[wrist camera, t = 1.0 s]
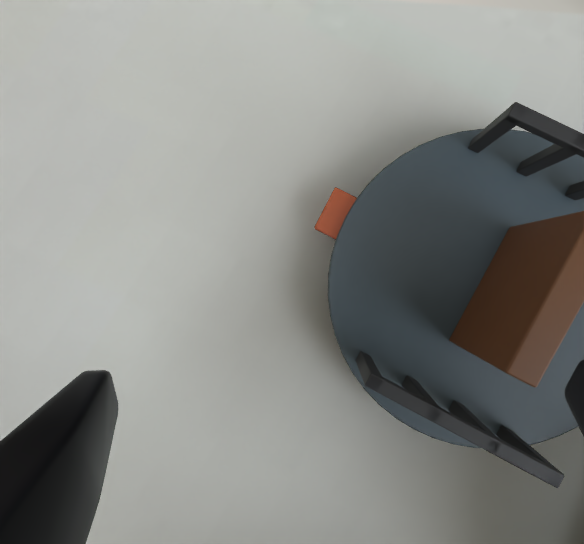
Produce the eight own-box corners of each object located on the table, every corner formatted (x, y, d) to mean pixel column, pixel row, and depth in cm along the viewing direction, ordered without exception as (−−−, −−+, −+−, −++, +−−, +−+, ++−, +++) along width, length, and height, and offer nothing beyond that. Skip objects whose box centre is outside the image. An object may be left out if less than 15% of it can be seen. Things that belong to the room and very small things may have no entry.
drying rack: (703, 220, 21) (916, 194, 13) (549, 496, 21) (670, 618, 14) (394, 72, 22) (432, -29, 14) (256, 340, 22) (224, 376, 15)
